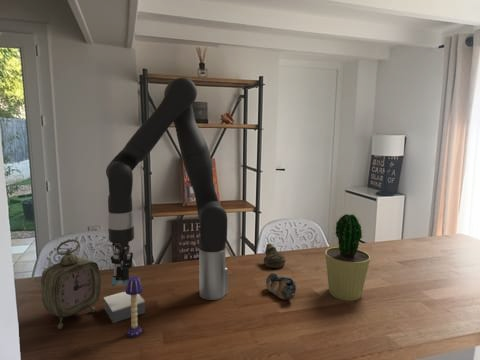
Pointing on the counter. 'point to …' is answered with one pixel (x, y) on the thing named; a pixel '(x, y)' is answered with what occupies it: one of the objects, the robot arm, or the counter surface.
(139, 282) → the toy lamp
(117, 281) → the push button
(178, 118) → the robot arm
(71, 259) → the tabletop clock
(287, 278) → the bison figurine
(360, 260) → the potted cactus
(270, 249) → the seashell
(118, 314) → the plinth
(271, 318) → the counter surface
